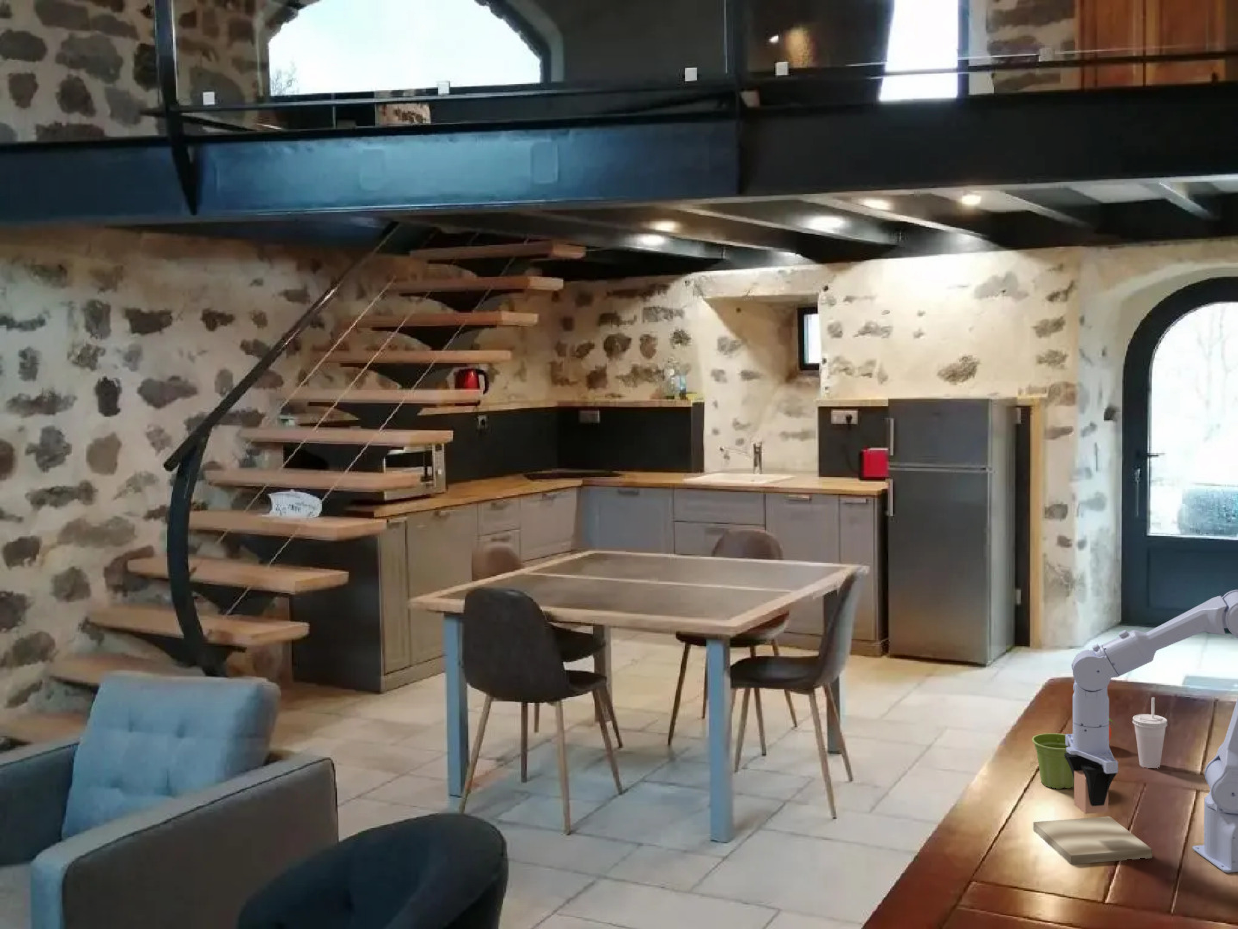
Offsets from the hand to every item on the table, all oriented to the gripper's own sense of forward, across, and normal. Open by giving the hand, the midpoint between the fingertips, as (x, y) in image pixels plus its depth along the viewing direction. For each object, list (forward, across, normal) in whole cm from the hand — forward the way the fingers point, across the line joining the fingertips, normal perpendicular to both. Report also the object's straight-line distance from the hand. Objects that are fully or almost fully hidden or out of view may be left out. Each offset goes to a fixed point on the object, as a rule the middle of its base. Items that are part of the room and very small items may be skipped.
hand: (1090, 800), depth 200 cm
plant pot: (+8, -27, +7) cm, 29 cm away
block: (+2, 0, 0) cm, 2 cm away
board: (+8, 0, 0) cm, 8 cm away
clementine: (+8, -45, +24) cm, 52 cm away
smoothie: (+8, -33, +29) cm, 45 cm away
